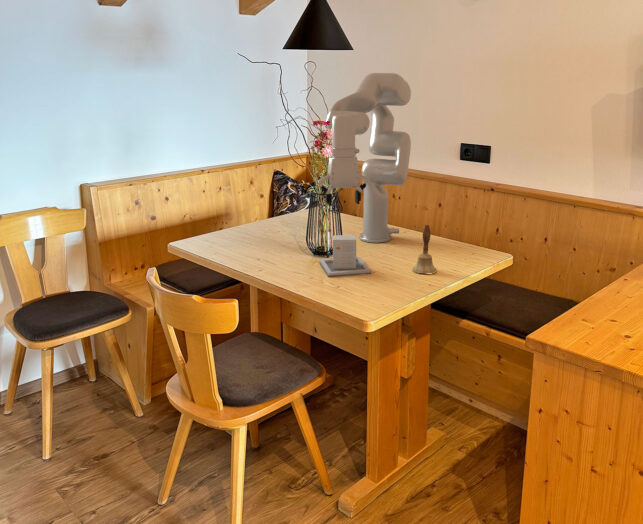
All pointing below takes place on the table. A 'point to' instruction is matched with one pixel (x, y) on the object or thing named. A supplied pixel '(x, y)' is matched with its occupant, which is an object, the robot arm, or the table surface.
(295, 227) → the table surface
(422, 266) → the hand bell
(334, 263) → the small box
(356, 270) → the docking base
